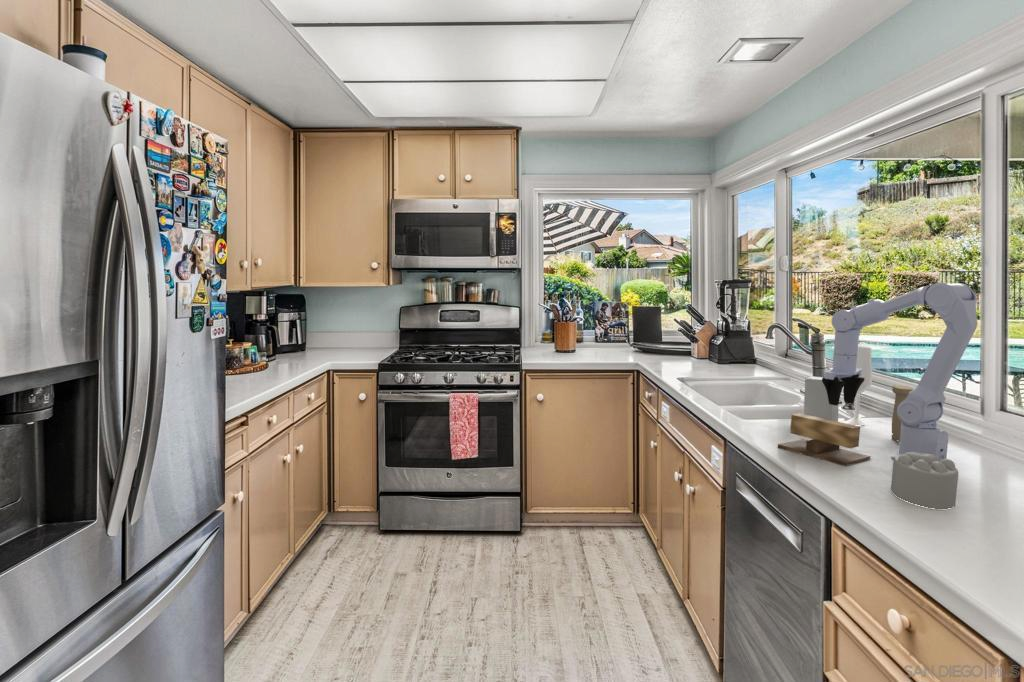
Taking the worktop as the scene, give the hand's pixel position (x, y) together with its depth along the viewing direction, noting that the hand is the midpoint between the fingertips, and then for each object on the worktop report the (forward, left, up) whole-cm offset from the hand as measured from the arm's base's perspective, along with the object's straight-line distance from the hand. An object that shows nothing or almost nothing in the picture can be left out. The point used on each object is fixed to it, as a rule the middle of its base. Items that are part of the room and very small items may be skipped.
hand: (841, 403), depth 168 cm
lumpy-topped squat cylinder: (-34, +29, -11) cm, 46 cm away
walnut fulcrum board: (-5, +16, -10) cm, 20 cm away
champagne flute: (+9, -25, -11) cm, 29 cm away
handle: (-8, -16, -11) cm, 21 cm away
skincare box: (+12, -11, -11) cm, 19 cm away
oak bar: (-5, +16, -7) cm, 18 cm away
